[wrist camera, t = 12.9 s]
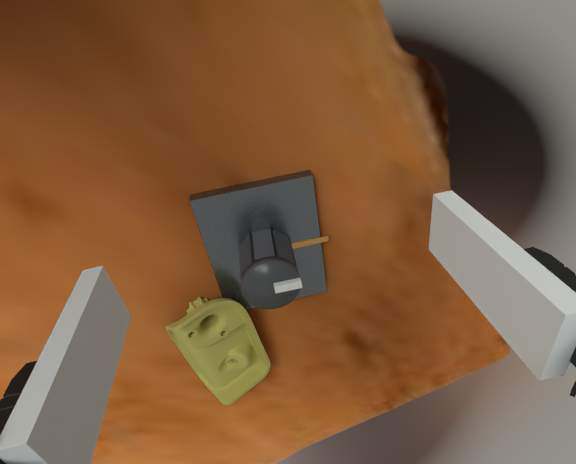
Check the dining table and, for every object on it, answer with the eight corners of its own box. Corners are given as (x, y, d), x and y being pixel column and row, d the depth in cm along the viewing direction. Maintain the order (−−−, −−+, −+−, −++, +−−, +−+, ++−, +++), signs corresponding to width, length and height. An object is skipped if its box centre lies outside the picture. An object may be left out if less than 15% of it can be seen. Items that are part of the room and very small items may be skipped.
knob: (245, 276, 47) (248, 318, 41) (233, 235, 43) (235, 274, 37) (295, 266, 47) (305, 305, 41) (287, 224, 44) (297, 260, 38)
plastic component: (274, 370, 57) (219, 413, 54) (250, 340, 62) (199, 378, 59) (236, 286, 45) (163, 335, 41) (211, 258, 50) (143, 300, 47)
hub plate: (190, 194, 41) (186, 221, 36) (318, 168, 42) (331, 190, 37) (228, 306, 51) (229, 339, 46) (331, 282, 52) (343, 313, 47)
